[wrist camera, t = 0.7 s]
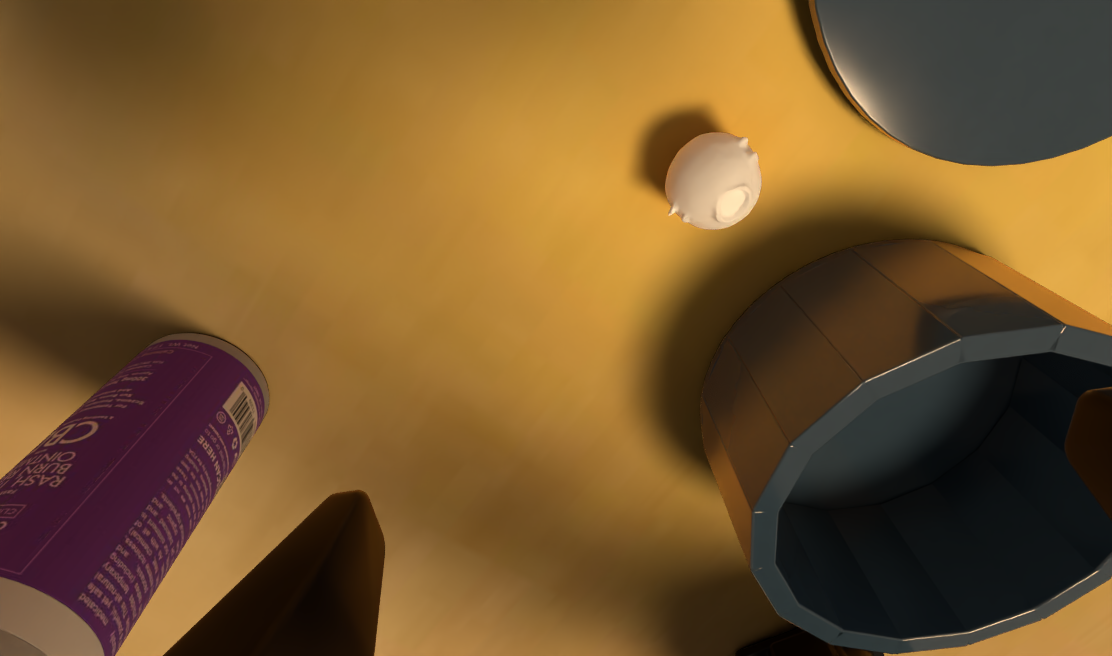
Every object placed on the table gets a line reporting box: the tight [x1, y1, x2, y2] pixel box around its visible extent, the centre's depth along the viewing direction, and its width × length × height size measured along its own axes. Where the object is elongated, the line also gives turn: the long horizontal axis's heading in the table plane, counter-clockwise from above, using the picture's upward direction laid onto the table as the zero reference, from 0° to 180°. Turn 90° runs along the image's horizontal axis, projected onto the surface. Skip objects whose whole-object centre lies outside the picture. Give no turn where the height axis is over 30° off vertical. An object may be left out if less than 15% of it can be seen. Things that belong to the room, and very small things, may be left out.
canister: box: [700, 239, 1112, 654], centre depth 21 cm, size 13×13×6 cm
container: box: [0, 333, 269, 656], centre depth 16 cm, size 5×5×15 cm
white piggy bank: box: [665, 132, 762, 230], centre depth 18 cm, size 3×3×3 cm
